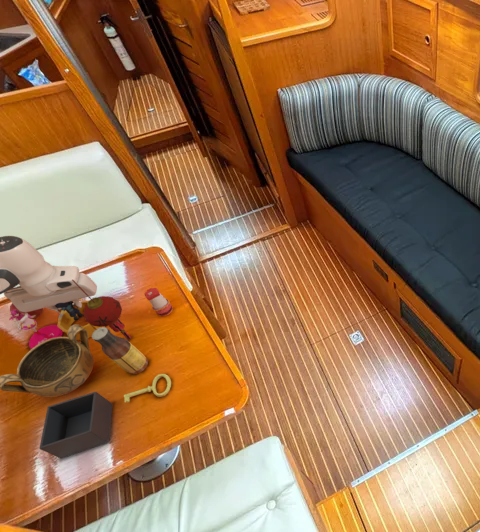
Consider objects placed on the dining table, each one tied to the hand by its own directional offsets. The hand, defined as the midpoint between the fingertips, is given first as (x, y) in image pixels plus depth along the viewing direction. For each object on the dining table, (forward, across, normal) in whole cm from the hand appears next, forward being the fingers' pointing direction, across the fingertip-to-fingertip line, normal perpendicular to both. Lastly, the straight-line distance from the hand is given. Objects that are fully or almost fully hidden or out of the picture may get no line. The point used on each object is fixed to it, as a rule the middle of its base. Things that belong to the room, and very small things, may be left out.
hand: (70, 308), depth 125 cm
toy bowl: (+9, 0, 0) cm, 9 cm away
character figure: (+5, 0, 0) cm, 5 cm away
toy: (+9, +25, -5) cm, 27 cm away
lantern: (+9, +14, -11) cm, 20 cm away
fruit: (+9, -16, +10) cm, 21 cm away
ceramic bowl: (+9, -2, -20) cm, 22 cm away
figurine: (+9, -12, -1) cm, 15 cm away
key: (+9, +20, -33) cm, 40 cm away
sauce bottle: (+9, +16, -23) cm, 30 cm away
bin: (+9, +4, -39) cm, 40 cm away
